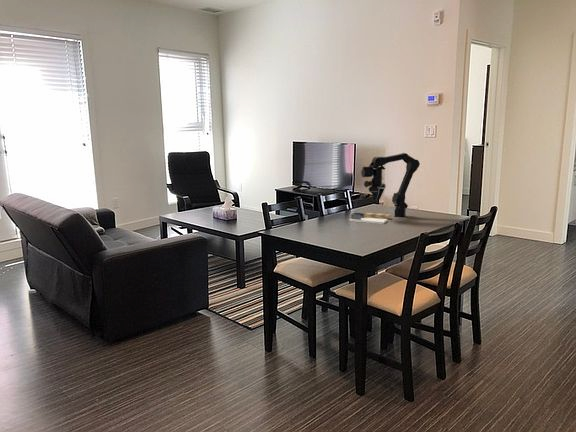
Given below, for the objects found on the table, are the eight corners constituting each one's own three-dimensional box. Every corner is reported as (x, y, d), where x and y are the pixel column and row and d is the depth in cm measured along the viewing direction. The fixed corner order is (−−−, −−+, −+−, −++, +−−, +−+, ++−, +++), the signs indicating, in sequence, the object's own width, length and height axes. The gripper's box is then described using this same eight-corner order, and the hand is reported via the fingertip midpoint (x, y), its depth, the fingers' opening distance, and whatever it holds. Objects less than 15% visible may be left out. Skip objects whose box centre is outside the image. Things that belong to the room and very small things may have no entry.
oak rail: (389, 218, 303) (389, 214, 302) (387, 220, 300) (387, 215, 299) (363, 216, 311) (363, 212, 311) (361, 217, 308) (361, 213, 307)
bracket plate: (387, 221, 294) (387, 214, 294) (383, 223, 287) (383, 217, 286) (354, 218, 304) (354, 212, 303) (349, 221, 296) (349, 214, 296)
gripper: (369, 174, 311) (369, 197, 314) (360, 177, 295) (360, 201, 298) (386, 175, 306) (385, 198, 309) (378, 178, 290) (377, 202, 293)
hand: (377, 200), depth 303 cm, fingers open, 9 cm apart
